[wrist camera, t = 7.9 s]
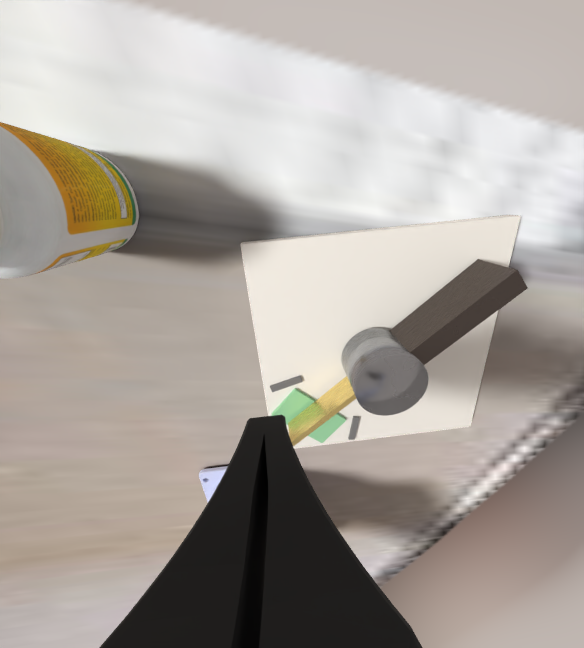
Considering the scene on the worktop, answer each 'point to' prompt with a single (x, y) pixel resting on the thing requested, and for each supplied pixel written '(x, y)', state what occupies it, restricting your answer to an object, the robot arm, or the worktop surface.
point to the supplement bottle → (58, 203)
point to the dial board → (366, 317)
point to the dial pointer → (410, 347)
